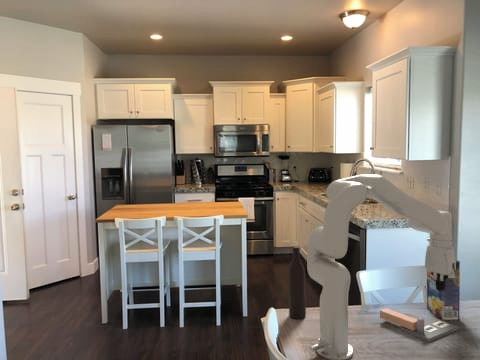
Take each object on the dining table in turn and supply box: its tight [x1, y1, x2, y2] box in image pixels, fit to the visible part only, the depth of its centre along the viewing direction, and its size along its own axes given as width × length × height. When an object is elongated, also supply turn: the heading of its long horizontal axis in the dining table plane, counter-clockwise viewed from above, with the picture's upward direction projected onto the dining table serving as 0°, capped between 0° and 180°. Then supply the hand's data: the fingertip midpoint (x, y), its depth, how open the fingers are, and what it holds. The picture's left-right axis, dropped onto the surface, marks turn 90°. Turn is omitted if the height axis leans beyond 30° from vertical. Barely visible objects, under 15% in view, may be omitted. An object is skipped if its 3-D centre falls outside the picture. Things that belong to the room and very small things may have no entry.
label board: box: [399, 315, 459, 343], centre depth 144 cm, size 18×12×6 cm, turn 119°
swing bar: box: [379, 307, 417, 331], centre depth 147 cm, size 14×4×3 cm, turn 33°
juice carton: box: [426, 259, 461, 321], centre depth 157 cm, size 12×8×24 cm, turn 0°
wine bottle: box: [287, 246, 307, 320], centre depth 159 cm, size 7×7×30 cm
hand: (440, 289), depth 144 cm, fingers closed
